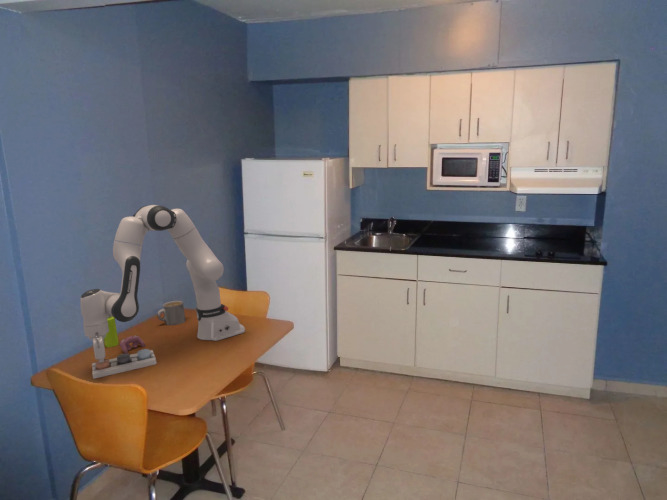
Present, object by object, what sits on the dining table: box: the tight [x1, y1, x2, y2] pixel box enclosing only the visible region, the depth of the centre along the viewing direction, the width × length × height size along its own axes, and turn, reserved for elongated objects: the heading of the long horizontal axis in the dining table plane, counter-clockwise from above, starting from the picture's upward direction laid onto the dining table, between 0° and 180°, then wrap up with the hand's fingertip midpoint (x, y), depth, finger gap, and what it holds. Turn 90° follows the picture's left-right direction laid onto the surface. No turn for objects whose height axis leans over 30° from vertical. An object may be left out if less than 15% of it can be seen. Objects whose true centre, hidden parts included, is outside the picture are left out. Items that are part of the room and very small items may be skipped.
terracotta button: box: [95, 358, 110, 370], centre depth 198 cm, size 5×5×3 cm
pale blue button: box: [136, 348, 152, 361], centre depth 205 cm, size 5×5×3 cm
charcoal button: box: [116, 353, 132, 366], centre depth 201 cm, size 5×5×3 cm
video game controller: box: [119, 335, 146, 354], centre depth 220 cm, size 10×5×7 cm, turn 141°
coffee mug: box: [156, 300, 186, 326], centre depth 252 cm, size 13×10×10 cm
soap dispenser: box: [104, 316, 120, 348], centre depth 225 cm, size 6×7×20 cm
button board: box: [91, 349, 158, 380], centre depth 202 cm, size 24×12×2 cm, turn 117°
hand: (101, 361), depth 198 cm, fingers closed, pressing on terracotta button
